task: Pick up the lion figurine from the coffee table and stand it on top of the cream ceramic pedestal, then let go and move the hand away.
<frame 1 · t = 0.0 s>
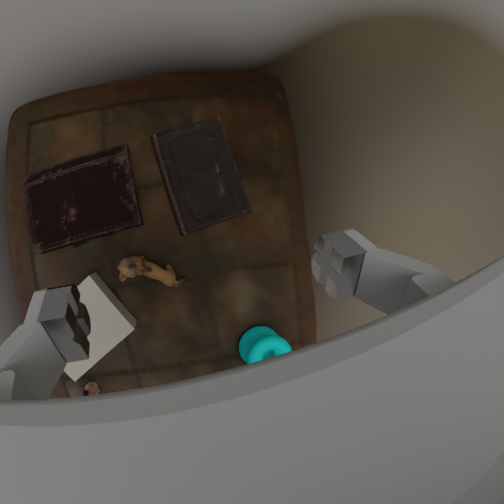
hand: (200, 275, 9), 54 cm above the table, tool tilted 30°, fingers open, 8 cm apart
grandmother figurine: (93, 387, 57), on the table
lion figurine: (152, 271, 61), on the table
donuts: (257, 343, 68), on the table
diary: (82, 201, 56), on the table
pedestal: (86, 324, 56), on the table
hardcover book: (198, 174, 63), on the table
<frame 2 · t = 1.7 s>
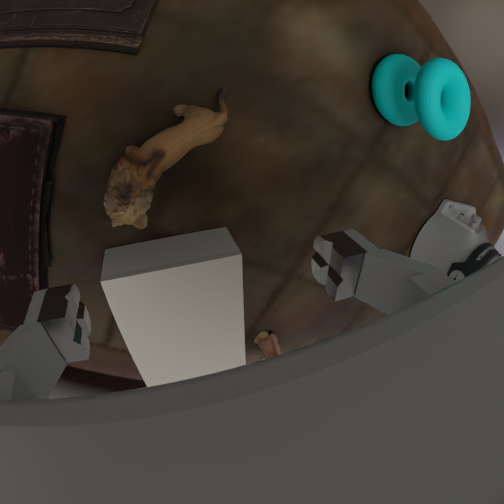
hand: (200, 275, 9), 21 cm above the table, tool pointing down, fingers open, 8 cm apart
grandmother figurine: (263, 337, 46), on the table
lion figurine: (166, 143, 27), on the table
donuts: (393, 88, 31), on the table
pedestal: (178, 304, 37), on the table
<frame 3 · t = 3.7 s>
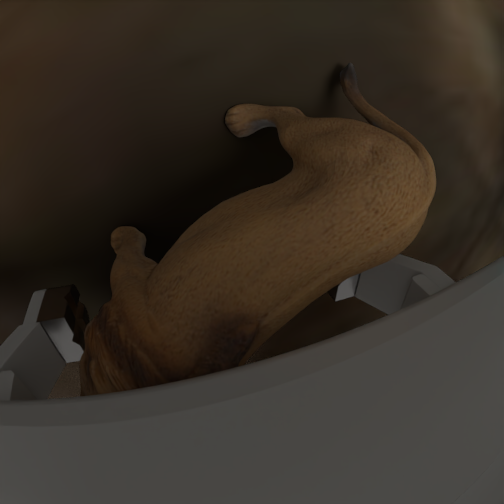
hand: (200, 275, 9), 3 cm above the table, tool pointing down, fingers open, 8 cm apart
lion figurine: (213, 208, 11), on the table
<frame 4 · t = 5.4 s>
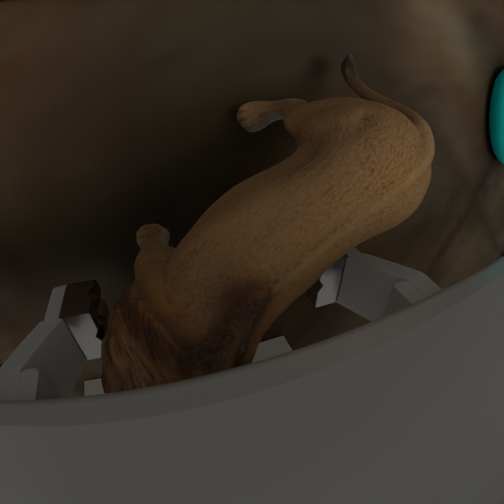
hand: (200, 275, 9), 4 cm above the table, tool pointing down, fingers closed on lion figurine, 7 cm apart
lion figurine: (233, 203, 12), point 1 cm above the table, touching gripper
donuts: (501, 112, 17), on the table
pedestal: (203, 422, 23), on the table
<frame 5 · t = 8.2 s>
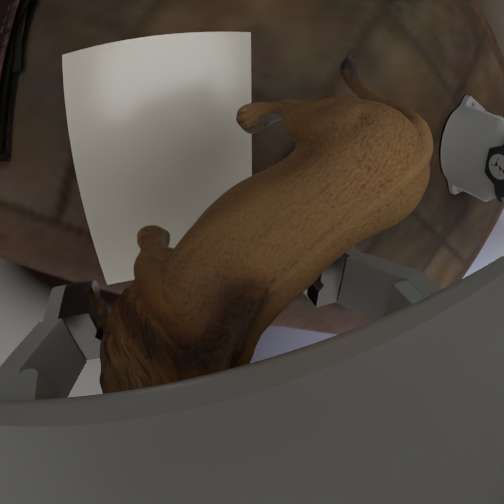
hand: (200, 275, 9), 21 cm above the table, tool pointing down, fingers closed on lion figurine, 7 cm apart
lion figurine: (234, 205, 12), point 18 cm above the table, touching gripper
pedestal: (160, 148, 26), on the table
when the fingers open (10 cm above the table, at t = 11.0 s): lion figurine moves 1 cm, resting on pedestal.
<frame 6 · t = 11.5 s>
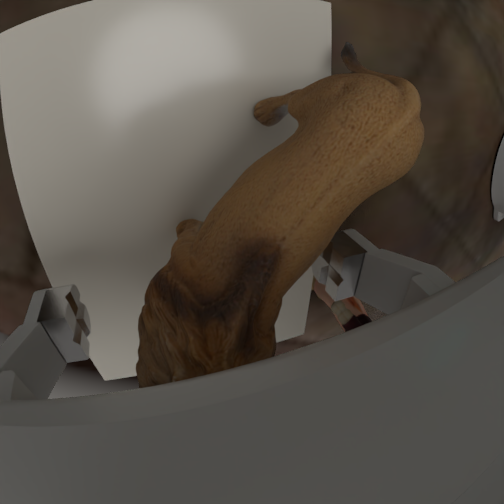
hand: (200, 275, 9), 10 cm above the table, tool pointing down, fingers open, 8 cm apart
grandmother figurine: (319, 278, 27), on the table
lion figurine: (263, 194, 13), point 6 cm above the table, touching gripper, pedestal
pedestal: (169, 179, 17), on the table
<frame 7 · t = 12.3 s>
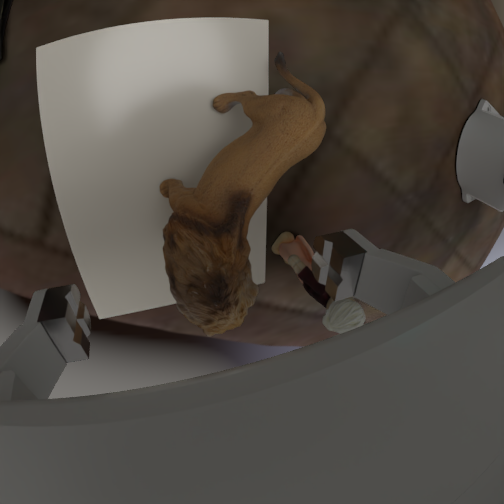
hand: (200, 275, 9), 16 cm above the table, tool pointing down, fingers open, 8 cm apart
grandmother figurine: (285, 244, 32), on the table
lion figurine: (217, 157, 18), point 6 cm above the table, touching pedestal
pedestal: (156, 157, 22), on the table
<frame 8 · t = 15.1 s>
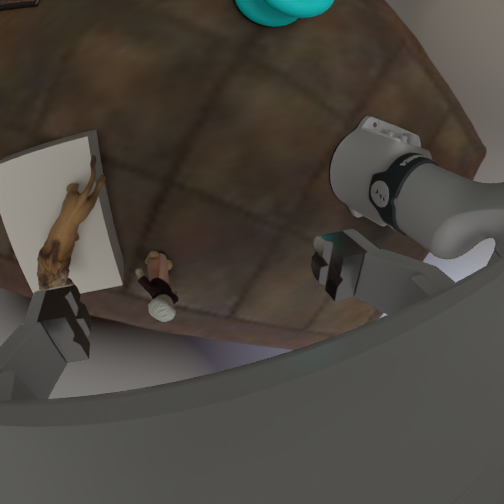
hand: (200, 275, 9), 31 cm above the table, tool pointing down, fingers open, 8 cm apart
grandmother figurine: (156, 259, 44), on the table
lion figurine: (76, 215, 30), point 6 cm above the table, touching pedestal
pedestal: (63, 210, 34), on the table
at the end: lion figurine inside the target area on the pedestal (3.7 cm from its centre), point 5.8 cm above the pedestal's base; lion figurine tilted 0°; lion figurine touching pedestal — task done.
